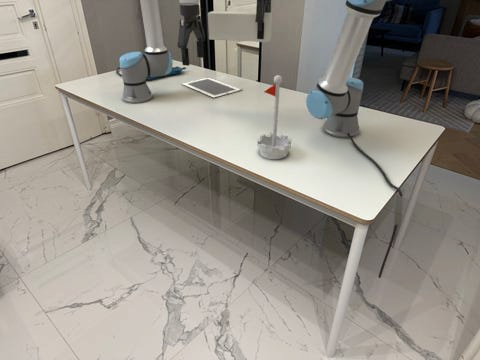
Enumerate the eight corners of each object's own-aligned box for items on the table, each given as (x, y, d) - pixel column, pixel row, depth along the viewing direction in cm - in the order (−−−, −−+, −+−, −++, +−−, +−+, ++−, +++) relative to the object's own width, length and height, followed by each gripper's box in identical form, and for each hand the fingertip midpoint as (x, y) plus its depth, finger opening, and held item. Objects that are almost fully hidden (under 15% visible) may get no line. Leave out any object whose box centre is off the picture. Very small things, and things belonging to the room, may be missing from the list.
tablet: (181, 84, 205) (181, 83, 205) (208, 77, 216) (208, 77, 216) (213, 98, 185) (213, 97, 185) (241, 90, 196) (241, 89, 196)
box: (271, 39, 150) (272, 12, 144) (268, 42, 144) (269, 14, 139) (213, 36, 155) (212, 11, 150) (209, 39, 150) (207, 13, 144)
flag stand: (280, 142, 140) (286, 68, 124) (296, 156, 130) (304, 78, 113) (251, 147, 136) (253, 72, 120) (265, 163, 126) (269, 82, 109)
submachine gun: (171, 61, 240) (190, 66, 223) (172, 66, 242) (191, 72, 225) (125, 70, 221) (142, 76, 205) (126, 76, 223) (144, 82, 207)
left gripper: (194, 0, 140) (198, 53, 152) (163, 7, 120) (170, 67, 132) (211, 0, 138) (213, 55, 150) (182, 7, 118) (187, 69, 130)
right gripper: (263, -26, 143) (261, 32, 156) (248, -24, 128) (247, 41, 140) (280, -26, 141) (277, 33, 154) (267, -24, 126) (264, 42, 138)
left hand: (193, 61), depth 141 cm, fingers open, 13 cm apart
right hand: (262, 37), depth 147 cm, fingers closed on box, 7 cm apart
